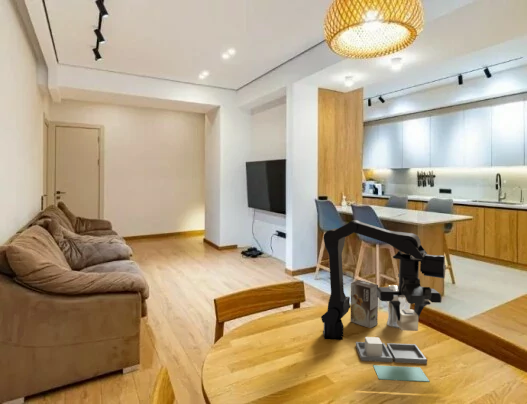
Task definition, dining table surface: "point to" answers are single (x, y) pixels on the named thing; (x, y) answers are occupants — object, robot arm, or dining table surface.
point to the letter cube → (408, 320)
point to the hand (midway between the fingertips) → (407, 320)
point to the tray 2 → (406, 353)
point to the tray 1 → (363, 356)
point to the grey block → (373, 346)
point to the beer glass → (391, 312)
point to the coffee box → (364, 303)
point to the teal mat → (400, 373)
